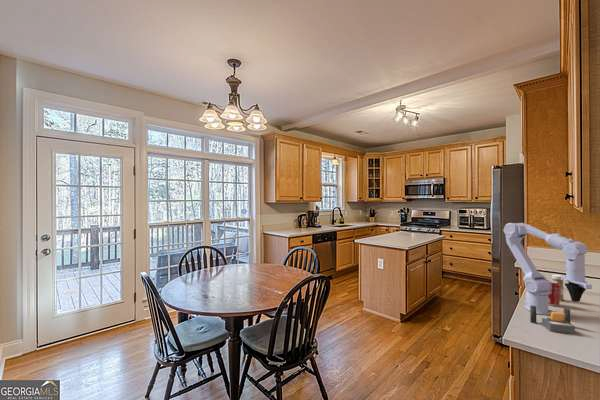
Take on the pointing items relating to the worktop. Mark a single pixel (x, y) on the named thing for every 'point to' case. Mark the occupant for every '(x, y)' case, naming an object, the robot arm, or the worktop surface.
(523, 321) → the worktop surface
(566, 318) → the cylinder
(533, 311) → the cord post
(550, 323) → the breaker box
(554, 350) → the worktop surface
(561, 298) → the sprinkles bottle
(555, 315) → the breaker paddle
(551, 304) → the beverage can
